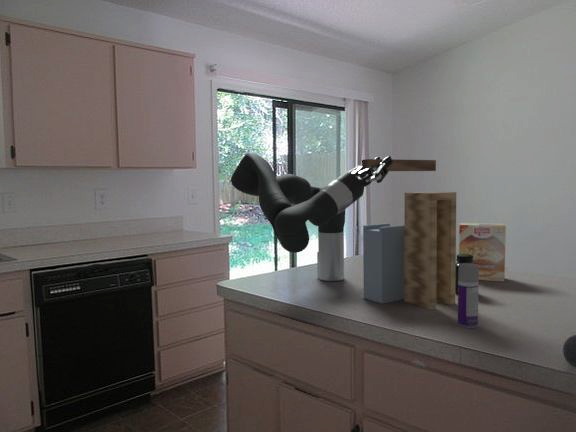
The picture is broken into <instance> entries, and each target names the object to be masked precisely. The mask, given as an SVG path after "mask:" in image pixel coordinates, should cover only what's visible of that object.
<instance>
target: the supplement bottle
mask: <svg viewBox="0 0 576 432" xmlns="http://www.w3.org/2000/svg"><path fill="white" fill-rule="evenodd" d="M472 262H473V255H469V254H459V253H458V254H456V282H455V295H458V272H459V264H460V263H472Z"/></svg>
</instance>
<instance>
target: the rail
mask: <svg viewBox="0 0 576 432" xmlns="http://www.w3.org/2000/svg"><path fill="white" fill-rule="evenodd" d="M383 159H384V158H382V159H381V158H380V159H374V158H373V159H372V158H369V159H361V164H362V166H363V169H362V170H365V169H366V168H368V167H370V166H375V165H376V164H378V163H379V162H381V161H382V160H383ZM391 159H392V158H391ZM392 161H393V163H392V164H391V165H390V166H389V167H387V170H388V172H436V171H437V169H436V167H437V160H436V159H392ZM377 169H378V168H376V170H377ZM370 171H372V170H370Z"/></svg>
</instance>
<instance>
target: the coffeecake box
mask: <svg viewBox="0 0 576 432" xmlns="http://www.w3.org/2000/svg"><path fill="white" fill-rule="evenodd" d="M506 230H507V227H506V224H505V223H481V222H479V223H478V222H475V223H474V222H471V223H470V222H460V223H459V232H458V233H459V235H458V237H459V238H458V255H459V254H469V255H473V262H472V263H473V264H477V265H478V278H479V281H488V282H491V281H492V282H505V274H506V272H505V269H506V235H507V232H506Z"/></svg>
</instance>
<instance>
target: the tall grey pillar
mask: <svg viewBox="0 0 576 432" xmlns="http://www.w3.org/2000/svg"><path fill="white" fill-rule="evenodd" d="M362 227H363V229H362V230H363V231H362V233H363V234H362V235H363V237H362V240H363V245H362V247H363V249H362V250H363V252H362V253H363V260H362V261H363V299H366V300H368V301H372V302H376V303H379V304H381V305H382V304H388V303H392V302H396V301H402V300H404V231H405V224H401V225H391V223H389V222H388V223H377V224H376V223H375V224H374V223H373V224H365V225H363V226H362Z"/></svg>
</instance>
